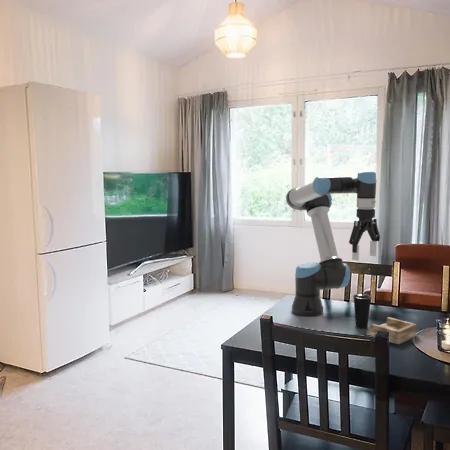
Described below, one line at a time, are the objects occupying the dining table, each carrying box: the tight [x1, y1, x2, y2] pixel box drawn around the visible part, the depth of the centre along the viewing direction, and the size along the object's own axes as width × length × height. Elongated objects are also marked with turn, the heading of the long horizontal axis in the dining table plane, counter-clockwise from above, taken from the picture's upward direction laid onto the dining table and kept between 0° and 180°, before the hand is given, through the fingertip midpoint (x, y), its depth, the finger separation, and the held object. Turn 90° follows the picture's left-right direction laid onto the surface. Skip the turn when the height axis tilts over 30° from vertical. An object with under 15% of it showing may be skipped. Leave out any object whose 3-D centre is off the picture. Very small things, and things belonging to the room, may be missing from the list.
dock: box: [366, 316, 418, 345], centre depth 185 cm, size 14×14×5 cm
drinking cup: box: [352, 281, 372, 330], centre depth 195 cm, size 8×8×20 cm
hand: (364, 258), depth 193 cm, fingers open, 13 cm apart
